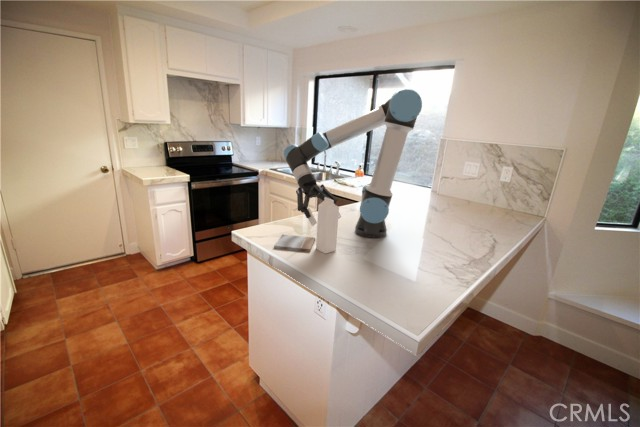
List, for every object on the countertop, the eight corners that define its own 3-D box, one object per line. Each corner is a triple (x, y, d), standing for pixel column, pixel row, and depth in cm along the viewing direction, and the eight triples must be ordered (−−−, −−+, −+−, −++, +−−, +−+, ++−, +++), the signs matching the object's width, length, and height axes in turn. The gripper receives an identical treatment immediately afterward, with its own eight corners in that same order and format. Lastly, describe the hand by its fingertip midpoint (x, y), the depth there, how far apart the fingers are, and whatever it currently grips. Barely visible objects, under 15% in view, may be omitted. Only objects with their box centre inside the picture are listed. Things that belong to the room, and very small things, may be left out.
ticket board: (314, 240, 135) (315, 237, 134) (310, 252, 122) (310, 249, 122) (282, 236, 136) (282, 234, 136) (274, 248, 124) (274, 245, 124)
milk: (324, 253, 122) (327, 201, 115) (315, 248, 126) (318, 197, 119) (336, 250, 125) (339, 199, 118) (327, 245, 130) (330, 195, 123)
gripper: (322, 180, 138) (343, 220, 132) (276, 185, 122) (298, 231, 116) (330, 170, 133) (353, 211, 127) (284, 175, 117) (307, 222, 111)
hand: (327, 221), depth 121 cm, fingers open, 13 cm apart
